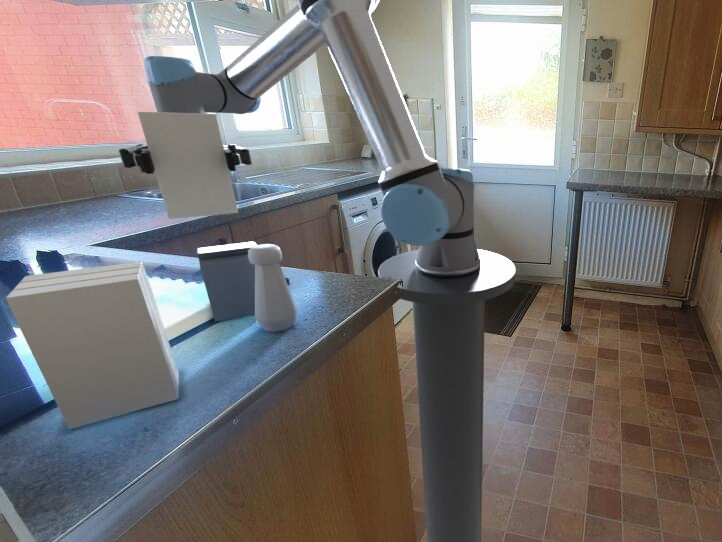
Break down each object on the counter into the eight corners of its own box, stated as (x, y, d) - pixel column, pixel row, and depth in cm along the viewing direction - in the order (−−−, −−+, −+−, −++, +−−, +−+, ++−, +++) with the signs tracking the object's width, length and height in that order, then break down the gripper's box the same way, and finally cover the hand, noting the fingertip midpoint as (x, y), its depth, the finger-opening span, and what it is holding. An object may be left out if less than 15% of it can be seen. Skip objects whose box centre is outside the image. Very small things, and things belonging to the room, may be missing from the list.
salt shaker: (253, 336, 61) (234, 253, 56) (262, 319, 66) (245, 241, 61) (297, 332, 62) (282, 251, 57) (302, 315, 67) (288, 239, 62)
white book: (237, 210, 69) (215, 114, 63) (238, 213, 67) (216, 114, 61) (169, 216, 64) (138, 111, 58) (168, 218, 62) (137, 111, 56)
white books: (178, 372, 52) (142, 261, 46) (178, 399, 47) (137, 279, 41) (80, 397, 47) (25, 275, 41) (68, 430, 42) (5, 298, 36)
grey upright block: (265, 294, 75) (253, 238, 71) (272, 310, 69) (260, 250, 65) (212, 303, 70) (196, 245, 66) (215, 322, 64) (197, 259, 60)
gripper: (261, 168, 83) (280, 184, 66) (117, 173, 71) (96, 194, 54) (253, 128, 80) (271, 135, 63) (102, 126, 68) (75, 133, 51)
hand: (190, 162), depth 59 cm, fingers closed on white book, 9 cm apart
